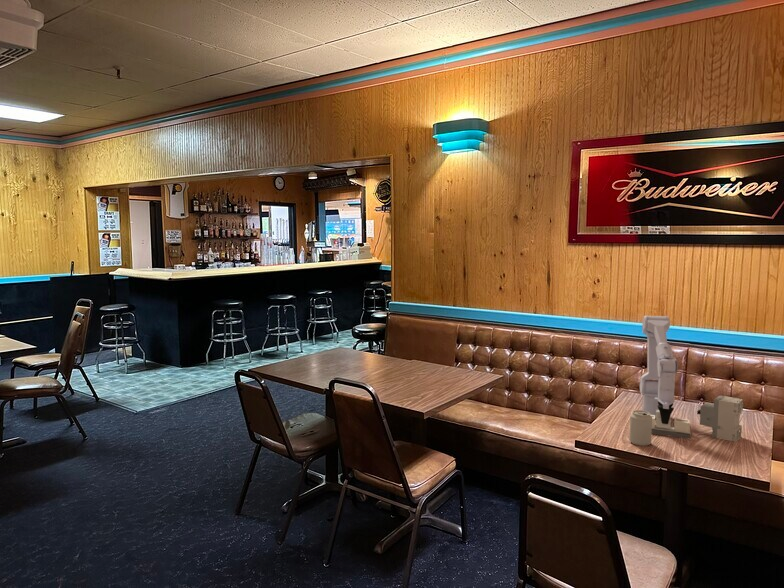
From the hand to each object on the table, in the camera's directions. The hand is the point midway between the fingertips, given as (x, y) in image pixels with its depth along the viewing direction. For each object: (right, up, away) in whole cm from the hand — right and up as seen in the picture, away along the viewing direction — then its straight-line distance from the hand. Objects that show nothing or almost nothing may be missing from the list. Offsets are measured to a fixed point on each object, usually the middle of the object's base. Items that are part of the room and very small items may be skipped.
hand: (664, 421), depth 210 cm
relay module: (0, -2, 0) cm, 2 cm away
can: (-15, -6, -12) cm, 20 cm away
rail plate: (0, -4, 0) cm, 4 cm away
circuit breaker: (+19, -5, -3) cm, 20 cm away
